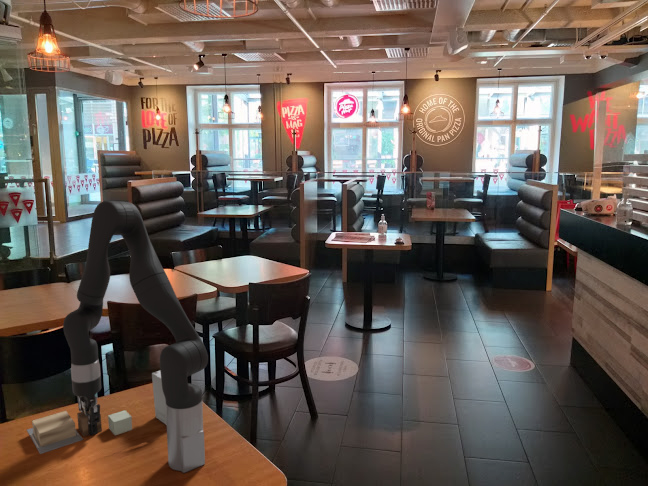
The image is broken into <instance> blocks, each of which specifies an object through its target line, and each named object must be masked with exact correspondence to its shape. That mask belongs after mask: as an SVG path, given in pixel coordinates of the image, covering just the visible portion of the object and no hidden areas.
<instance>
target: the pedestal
mask: <svg viewBox="0 0 648 486" xmlns="http://www.w3.org/2000/svg"><path fill="white" fill-rule="evenodd" d="M31 425H32V428H33V434H34V436H35V437H36V439H37V441H38V443H39V444H40V446H41V447H43V446H46V445H49V444H52V443H55V442H58V441H61V440H64V439H67V438H70V437H73V436H76V430H77V429H76V422H75V421H74V419H73V418H72V416H70V414H69V413H68V410H64V411H60V412H57V413H53V414H51V415H47V416H42V417H40V418H36V419H34V420H32V421H31ZM75 429H76V430H75Z"/></svg>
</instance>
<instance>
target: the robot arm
mask: <svg viewBox="0 0 648 486" xmlns="http://www.w3.org/2000/svg"><path fill="white" fill-rule="evenodd" d="M148 233H149V232H148V231H147V228H146V225H145V223H144V220H143V217H142V213H141V212H140V210H139V208H138V207H137V206H136V205H135V204H133V203H132V202H130V201H125V200H124V201H123V200H122V201H120V200H118V201H117V200H104V201H101V202H100V203H98V204H97V205H96V206H95V209H94V212H93V215H92V218H91V224H90V231H89V238H88V246H87V254H86V261H85V266H84V270H83V272H82V275H81V279H80V283H79V285H78V288H77V293H76V299H77V300H78V301H79V306H78V308H76V309H75V310H73V311H71V312H70V313H68V314H66V316H65V318H64V320H63V325H62V326H63V328H62V329H63V334H64V336H65V339H66V341H67V344H68V347H69V350H70V359H71V360H70V361H71V368H70V371H71V372H70V375H71V385H72V386H71V387H72V394H73V395H74V396H76V398H77V399H76V400H77V404H78V405H77V406H78V411H79V412H84V414H85V416H87V420H88V428H89V435H88V436H93V435H96V434H98V433H99V432H98V431H97V423H98V422H100V414H101V405H100V403H98V397H97V396H96V394H97V393H99V392H100V391H101V389H102V375H101V364H100V361H99V346H98V343H97V341H96V340H95V339H93V338H90V335H89V333H90V331H91V330H93V329H95V328H96V327H97V326H98V325H99V323H100V321H101V319H102V315H103V308H104V297H105V296H106V293H107V290H108V287H109V284H110V279H111V267H110V262H109V257H108V251H109V250H108V249H109V247H110V243H111V241H112V238H113V237H114V236H121V237H122V239H123V240H124V242H125V244H126V246H127V248H128V251H129V255H130V263H129V264H130V265H129V277H128V278H129V283H130V286H131V288H132V290H133V292H134V295H135V297H136V298H137V301H138V303H139V305H140V306H141V307H142V308H143V310H145V311H147V313H149V314H150V315H151V316H153V317H154V318H156V319H157V320H158V321H160V322H161V323H162V324H164V326H166V328H167V329H169V331H170V332H171V334H172V336H173V337H174V339H175V342H174V343H172V344H169V345H167V346H165V347H163V349H162V350H161V352H160V356H159V371H160V372H161V381H162V390H163V393H164V396H165V400H166V422H167V425H166V440H167V460H168V461H167V462H168V463H167V464H168V467H170V469H172V470H174V471H179V472H181V473H184V474H185V473H188V472H189V471H190V472H191V471H192V470H194V469H197V468H199V467H202V466H203V465H205V463H206V455H205V453H206V452H205V431H204V413H203V411H204V410H203V409H204V408H203V407H204V406H203V391H202V388H201V386H199V385H197V384H194V383H189V382H188V377H190V376H192V375H195V374H197V373H199V372H200V371H201V372H202V371H203V370H204V369H205V368H207V365H208V362H209V355H208V351H207V349H206V348H207V347H206V346H205V344H204V342H203V340H202V339H201V337H200V335H199V333H198V332H197V331H196V328H195V327H194V326H193V324H192V322H191V321H190V319H189V317H188V316H187V313H186V312H185V310H184V308H183V306H182V305H181V303H180V300H179V299H178V296H177V295H176V292H175V290H174V288H173V285H172V284H171V281H170V279H169V277H168V275H167V274H166V272H165V269H164V268H163V266H162V263H161V261H160V259H159V257H158V255H157V252H156V251H155V248H154V246H153V244H152V241H151V240H150V236H149V234H148ZM87 411H90V412H89V413H88V412H87ZM94 417H95V418H94Z"/></svg>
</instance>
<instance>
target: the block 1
mask: <svg viewBox="0 0 648 486" xmlns="http://www.w3.org/2000/svg"><path fill="white" fill-rule="evenodd" d="M87 412H88V413H89V412H90V411H87ZM76 417H77V427H78V428H77V429H78V430H77V431H78V432H79V433H81V434H80V435H81V436H83V437H84V438H85V437H88V436H90V435H89V428H88V420H87V416H85V414H84V412H81V411H79V412H77V416H76ZM94 418H95V417H94ZM102 426H103V425H102V413H100V422H98V423H97V431H98V433H100V432H102V431H103V428H102Z"/></svg>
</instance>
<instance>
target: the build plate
mask: <svg viewBox="0 0 648 486" xmlns="http://www.w3.org/2000/svg"><path fill="white" fill-rule="evenodd" d="M75 430H76V436H73V437H70V438H67V439H64V440H61V441H58V442H55V443H52V444H49V445H46V446H43V447H41V446H40V444H39V443H38V441H37V439H36V437H35V436H34V434H33V427H30V428H28V429H26V431H27V433H28V435H29V437H30V439H31V440H32V442H33V444H34V446H35V448H36V449H37V451H38V453H39V455H42V454H44V453H48V452H51V451H53V450H54V451H55V450H57V449H60V448H63V447H65V446H69V445H72V444H75V443H77V442H80V441H81V442H82V441H83V440H84V438H83V437H82V434H80V432H79V430H77V428H75Z"/></svg>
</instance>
